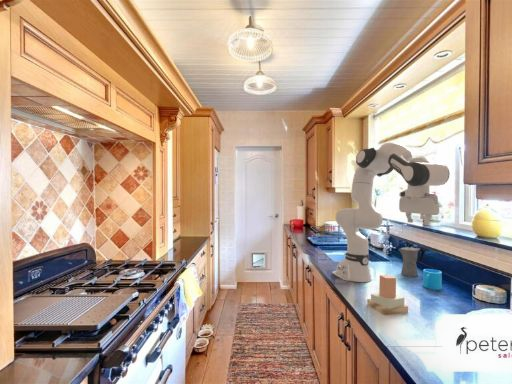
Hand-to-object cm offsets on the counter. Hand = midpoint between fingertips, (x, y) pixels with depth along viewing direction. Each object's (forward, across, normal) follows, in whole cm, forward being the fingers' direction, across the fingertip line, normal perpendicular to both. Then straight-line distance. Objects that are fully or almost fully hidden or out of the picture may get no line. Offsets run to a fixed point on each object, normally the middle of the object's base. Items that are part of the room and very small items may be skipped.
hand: (417, 223), depth 135 cm
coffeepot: (+34, +34, -27) cm, 55 cm away
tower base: (+35, -7, +22) cm, 42 cm away
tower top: (+32, -8, +22) cm, 39 cm away
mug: (+34, +11, -18) cm, 41 cm away
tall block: (+29, -8, +22) cm, 37 cm away
